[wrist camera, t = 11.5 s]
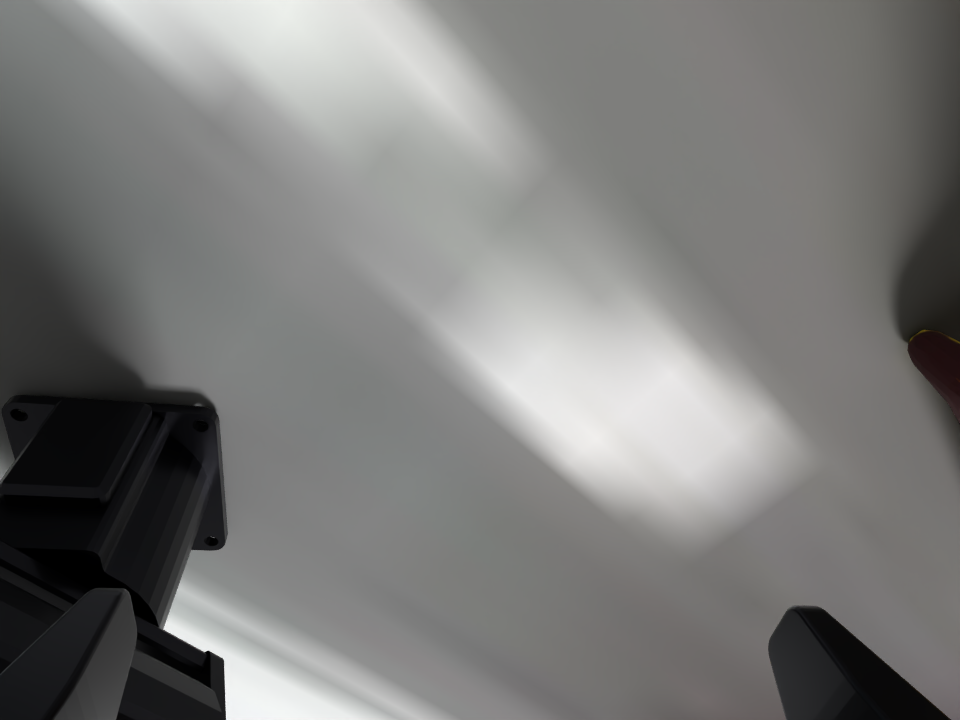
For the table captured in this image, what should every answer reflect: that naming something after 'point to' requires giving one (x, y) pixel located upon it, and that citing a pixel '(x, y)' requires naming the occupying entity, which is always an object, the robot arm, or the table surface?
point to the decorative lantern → (938, 364)
